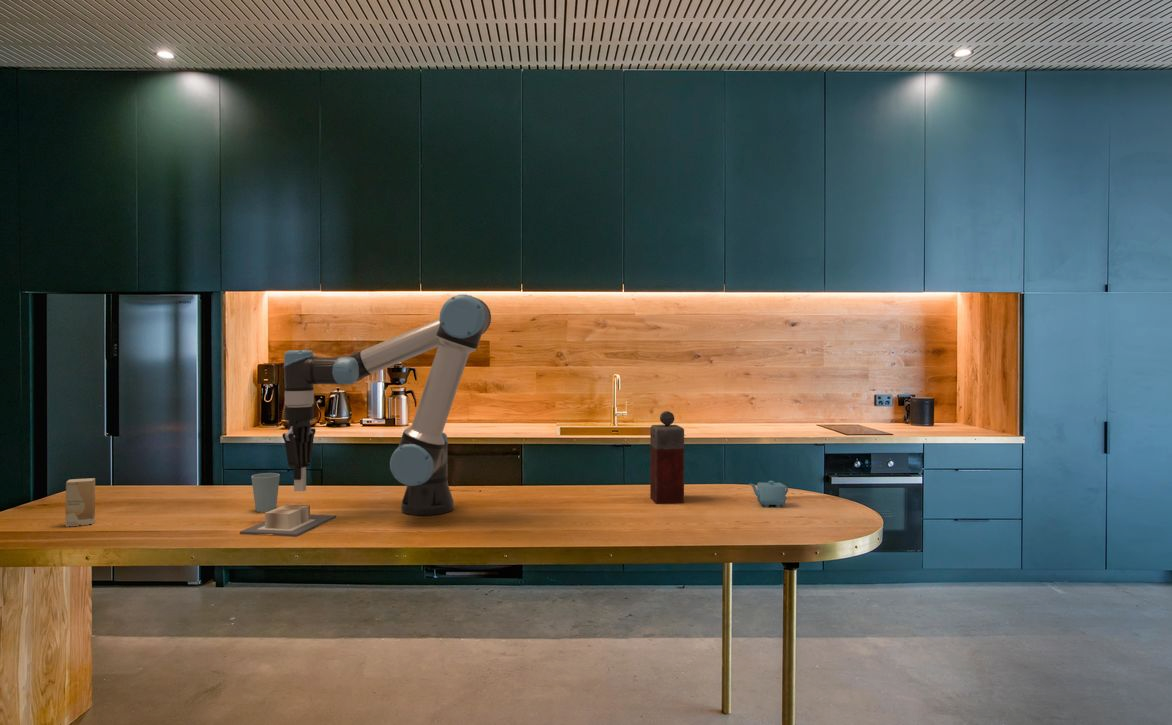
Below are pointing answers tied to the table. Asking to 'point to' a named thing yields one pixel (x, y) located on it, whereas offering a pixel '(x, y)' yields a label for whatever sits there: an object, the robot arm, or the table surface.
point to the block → (287, 516)
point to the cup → (265, 491)
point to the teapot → (770, 493)
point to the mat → (295, 531)
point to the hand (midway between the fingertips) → (300, 490)
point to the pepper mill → (667, 461)
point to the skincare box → (80, 502)
